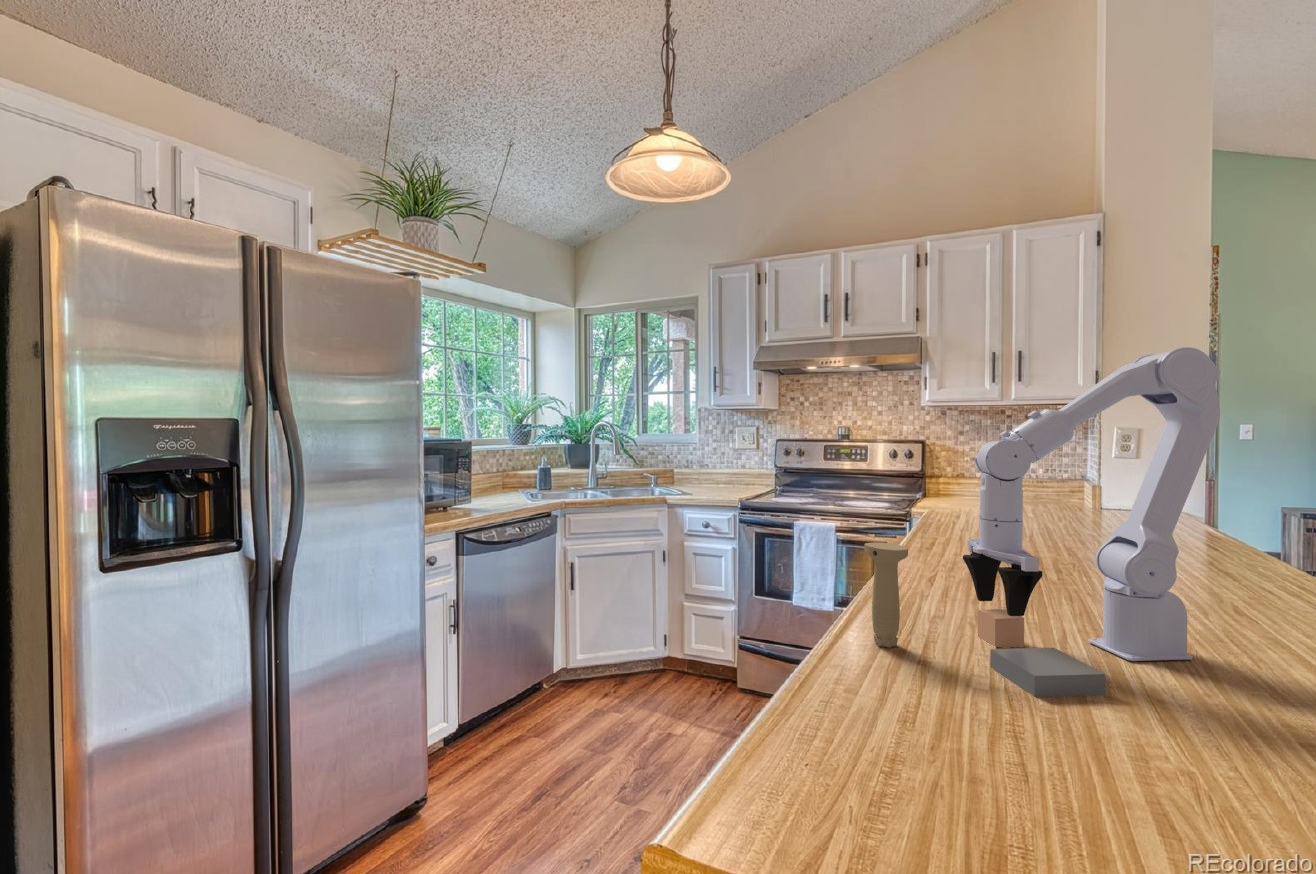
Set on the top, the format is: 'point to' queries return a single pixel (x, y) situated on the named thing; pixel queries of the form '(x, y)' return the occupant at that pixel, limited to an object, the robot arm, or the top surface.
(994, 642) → the terracotta block
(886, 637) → the handle
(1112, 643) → the robot arm
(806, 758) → the top surface
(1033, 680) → the plate
